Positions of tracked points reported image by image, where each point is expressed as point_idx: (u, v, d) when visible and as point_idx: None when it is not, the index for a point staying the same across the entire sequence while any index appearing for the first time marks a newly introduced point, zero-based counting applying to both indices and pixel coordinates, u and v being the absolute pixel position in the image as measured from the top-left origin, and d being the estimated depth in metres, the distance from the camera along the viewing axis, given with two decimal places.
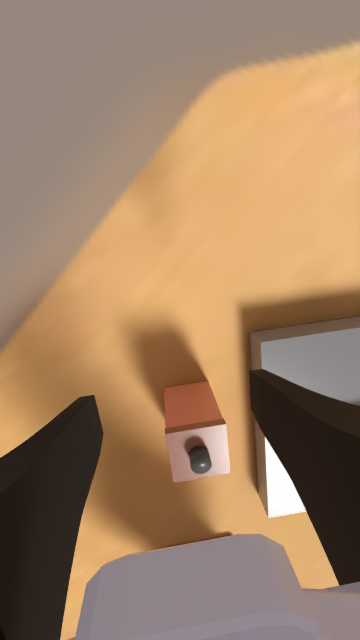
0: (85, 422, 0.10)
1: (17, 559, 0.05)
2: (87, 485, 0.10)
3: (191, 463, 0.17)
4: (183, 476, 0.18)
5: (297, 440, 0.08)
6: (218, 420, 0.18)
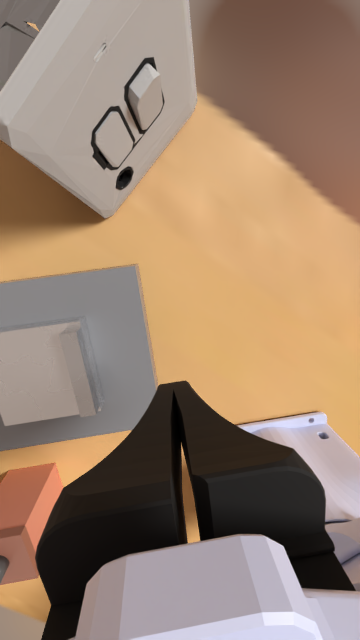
0: (174, 408, 0.10)
1: (181, 529, 0.06)
2: (180, 469, 0.10)
3: None
4: (28, 571, 0.18)
5: None
6: None
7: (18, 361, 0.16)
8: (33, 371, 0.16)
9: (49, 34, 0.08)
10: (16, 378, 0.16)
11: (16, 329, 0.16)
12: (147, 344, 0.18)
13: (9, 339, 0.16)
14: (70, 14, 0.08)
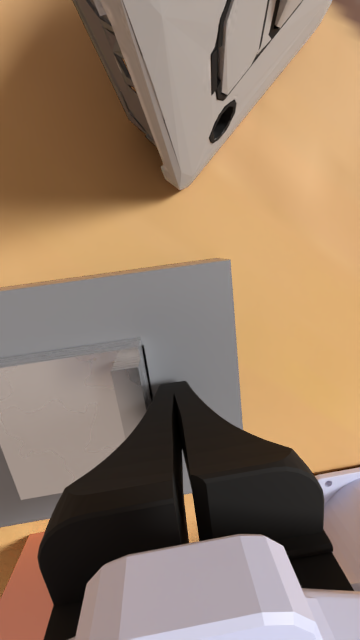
0: (175, 408, 0.10)
1: (182, 529, 0.06)
2: (181, 469, 0.10)
3: None
4: None
5: None
6: None
7: (43, 408, 0.11)
8: (65, 422, 0.11)
9: None
10: (40, 432, 0.11)
11: (40, 360, 0.10)
12: (237, 374, 0.12)
13: (29, 376, 0.10)
14: None
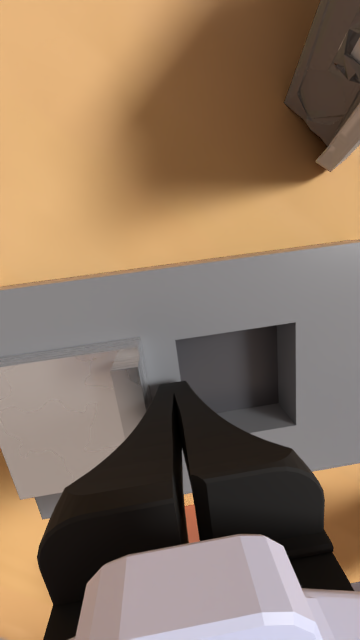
0: (175, 408, 0.10)
1: (182, 529, 0.06)
2: (181, 469, 0.10)
3: None
4: None
5: None
6: None
7: (42, 407, 0.11)
8: (65, 421, 0.11)
9: None
10: (39, 432, 0.11)
11: (40, 359, 0.10)
12: None
13: (29, 375, 0.10)
14: None
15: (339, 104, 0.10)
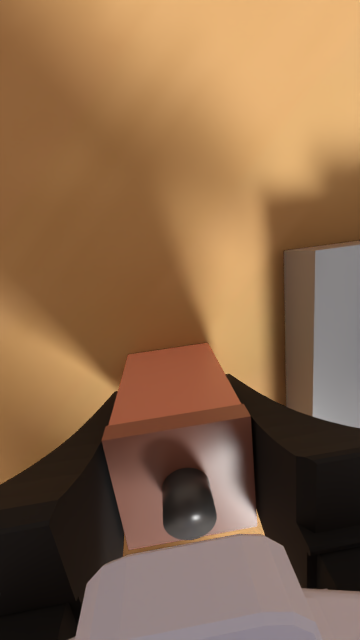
0: None
1: (89, 546, 0.06)
2: None
3: (165, 515, 0.07)
4: (151, 536, 0.08)
5: None
6: (232, 408, 0.08)
7: None
8: None
9: None
10: None
11: None
12: None
13: None
14: None
15: None
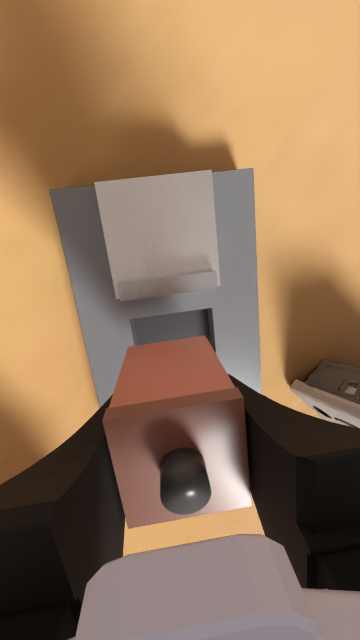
0: None
1: (89, 546, 0.06)
2: None
3: (162, 490, 0.07)
4: (150, 514, 0.08)
5: (250, 448, 0.08)
6: (227, 391, 0.08)
7: (179, 215, 0.15)
8: (167, 230, 0.15)
9: None
10: (159, 209, 0.14)
11: None
12: None
13: (205, 210, 0.15)
14: None
15: (326, 385, 0.20)
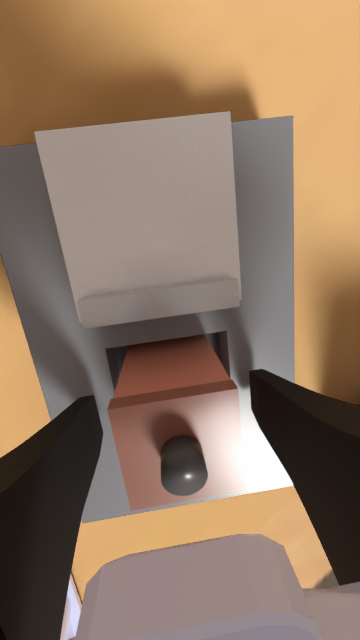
0: (85, 422, 0.10)
1: (17, 559, 0.05)
2: (87, 485, 0.10)
3: (163, 473, 0.08)
4: (151, 498, 0.09)
5: (297, 440, 0.08)
6: (222, 383, 0.08)
7: (178, 189, 0.09)
8: (158, 213, 0.09)
9: None
10: (144, 179, 0.09)
11: None
12: (201, 500, 0.14)
13: (220, 180, 0.09)
14: None
15: None
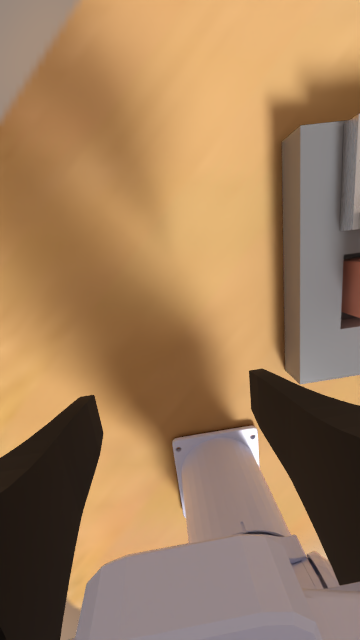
0: (85, 422, 0.10)
1: (17, 559, 0.05)
2: (87, 485, 0.10)
3: None
4: None
5: (297, 440, 0.08)
6: None
7: None
8: None
9: None
10: None
11: None
12: None
13: None
14: None
15: None
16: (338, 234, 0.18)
